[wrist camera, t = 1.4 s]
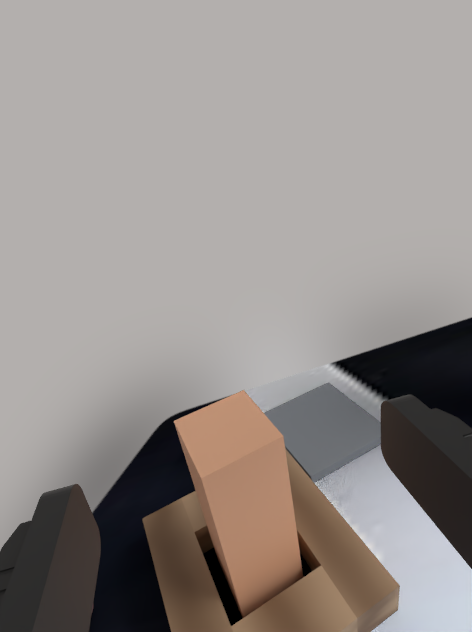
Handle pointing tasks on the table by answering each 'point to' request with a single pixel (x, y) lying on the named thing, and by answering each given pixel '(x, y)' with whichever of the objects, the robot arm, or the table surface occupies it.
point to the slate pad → (325, 430)
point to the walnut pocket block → (296, 601)
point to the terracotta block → (244, 497)
